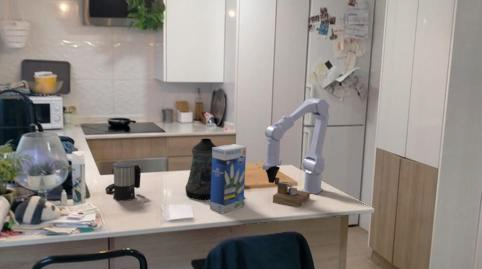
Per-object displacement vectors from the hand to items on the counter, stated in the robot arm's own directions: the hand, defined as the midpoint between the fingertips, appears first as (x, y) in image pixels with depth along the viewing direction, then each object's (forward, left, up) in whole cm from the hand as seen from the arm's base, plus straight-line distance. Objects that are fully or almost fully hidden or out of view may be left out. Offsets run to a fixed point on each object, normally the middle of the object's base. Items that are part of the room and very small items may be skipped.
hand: (271, 182), depth 217 cm
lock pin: (0, +6, -1) cm, 6 cm away
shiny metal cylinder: (0, +10, -6) cm, 12 cm away
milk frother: (+36, -56, -7) cm, 67 cm away
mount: (0, +10, -6) cm, 12 cm away
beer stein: (+14, -27, -7) cm, 31 cm away
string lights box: (+25, -9, -7) cm, 27 cm away
